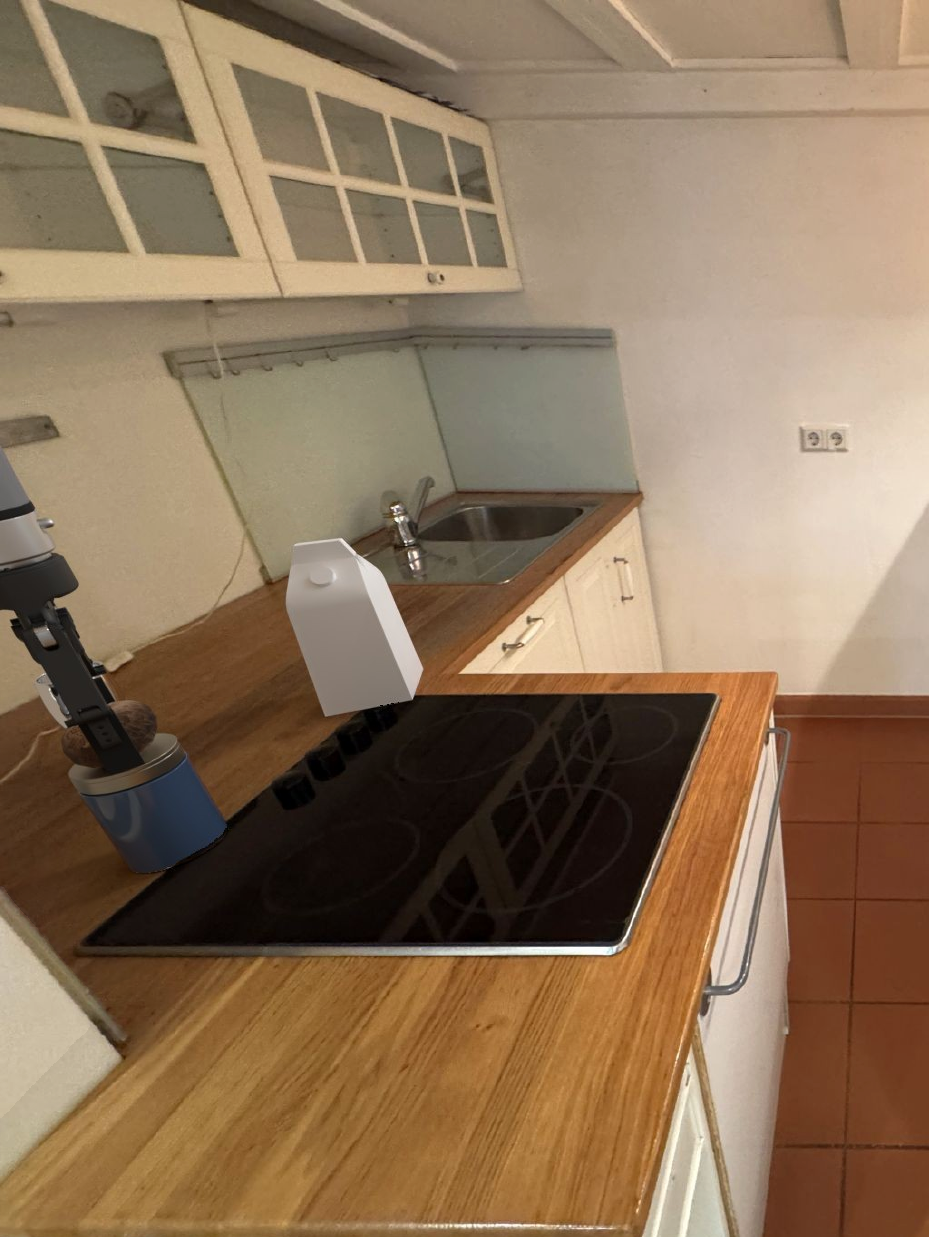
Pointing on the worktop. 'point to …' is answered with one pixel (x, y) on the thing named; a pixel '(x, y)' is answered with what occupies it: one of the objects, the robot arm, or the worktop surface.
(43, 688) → the shiny silver metal cup
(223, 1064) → the worktop surface
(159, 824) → the jar
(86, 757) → the brown potato
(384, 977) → the worktop surface
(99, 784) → the jar lid
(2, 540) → the robot arm
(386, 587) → the milk
